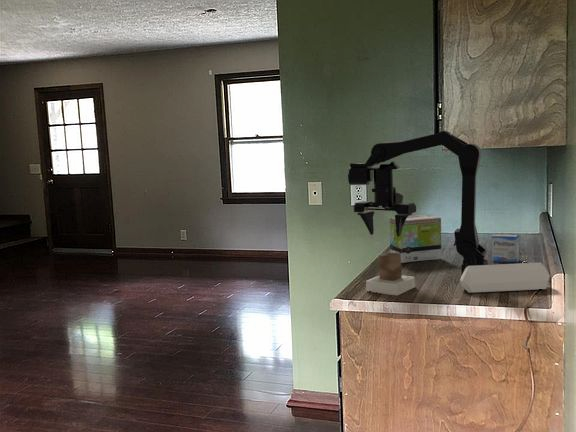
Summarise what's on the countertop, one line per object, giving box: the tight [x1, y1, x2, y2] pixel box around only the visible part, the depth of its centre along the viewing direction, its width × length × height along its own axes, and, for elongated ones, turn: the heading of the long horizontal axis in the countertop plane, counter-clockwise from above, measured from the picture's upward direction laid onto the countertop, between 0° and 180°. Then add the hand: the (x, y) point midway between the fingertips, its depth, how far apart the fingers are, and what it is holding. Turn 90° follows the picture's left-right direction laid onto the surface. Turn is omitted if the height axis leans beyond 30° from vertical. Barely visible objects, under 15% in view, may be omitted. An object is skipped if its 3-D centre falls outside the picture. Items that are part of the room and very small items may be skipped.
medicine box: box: [491, 233, 520, 264], centre depth 196 cm, size 8×4×9 cm, turn 62°
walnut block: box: [378, 251, 403, 281], centre depth 170 cm, size 4×4×7 cm
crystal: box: [459, 261, 550, 294], centre depth 163 cm, size 7×7×24 cm
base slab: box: [365, 274, 416, 297], centre depth 170 cm, size 10×10×3 cm
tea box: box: [389, 214, 442, 264], centre depth 207 cm, size 15×10×15 cm
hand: (385, 235), depth 182 cm, fingers open, 9 cm apart
